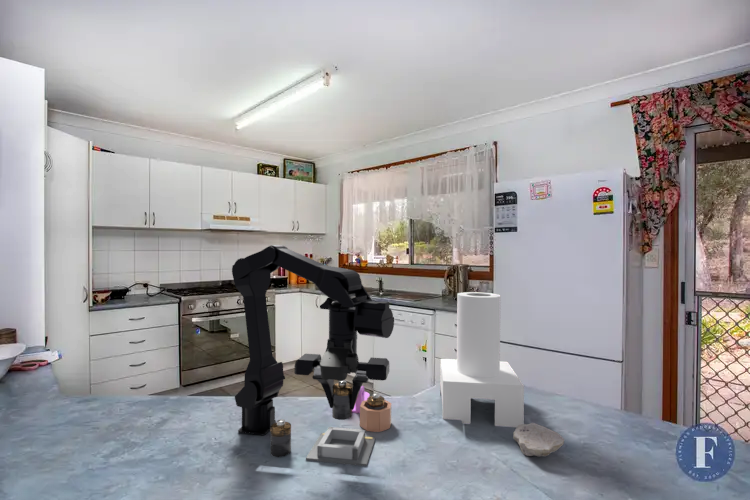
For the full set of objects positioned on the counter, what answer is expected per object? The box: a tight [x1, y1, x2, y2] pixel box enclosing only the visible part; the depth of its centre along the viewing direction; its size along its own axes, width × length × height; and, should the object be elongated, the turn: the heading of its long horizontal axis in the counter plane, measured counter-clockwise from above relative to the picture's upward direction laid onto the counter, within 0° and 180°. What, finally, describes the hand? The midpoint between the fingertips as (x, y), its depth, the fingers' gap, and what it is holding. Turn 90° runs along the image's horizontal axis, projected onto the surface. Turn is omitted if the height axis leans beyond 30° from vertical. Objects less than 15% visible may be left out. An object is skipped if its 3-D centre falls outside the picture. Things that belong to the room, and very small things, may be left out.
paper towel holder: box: [439, 291, 525, 428], centre depth 100 cm, size 19×19×30 cm
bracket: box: [352, 385, 371, 414], centre depth 102 cm, size 13×6×7 cm, turn 169°
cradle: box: [305, 426, 376, 467], centre depth 78 cm, size 12×10×3 cm
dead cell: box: [367, 392, 385, 410], centre depth 89 cm, size 4×4×7 cm
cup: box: [359, 398, 392, 433], centre depth 89 cm, size 7×7×5 cm
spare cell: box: [270, 418, 292, 458], centre depth 77 cm, size 4×4×7 cm
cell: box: [331, 379, 353, 421], centre depth 78 cm, size 4×4×7 cm
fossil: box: [512, 422, 565, 458], centre depth 79 cm, size 9×6×10 cm
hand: (342, 408), depth 78 cm, fingers closed on cell, 4 cm apart
